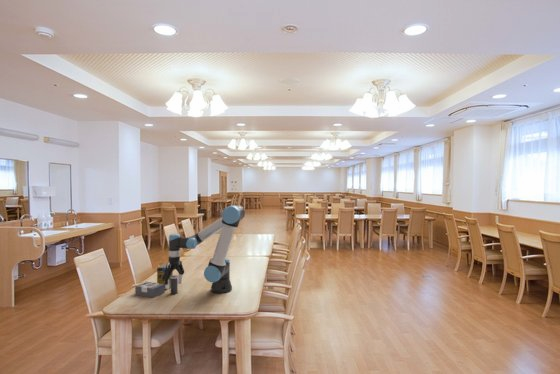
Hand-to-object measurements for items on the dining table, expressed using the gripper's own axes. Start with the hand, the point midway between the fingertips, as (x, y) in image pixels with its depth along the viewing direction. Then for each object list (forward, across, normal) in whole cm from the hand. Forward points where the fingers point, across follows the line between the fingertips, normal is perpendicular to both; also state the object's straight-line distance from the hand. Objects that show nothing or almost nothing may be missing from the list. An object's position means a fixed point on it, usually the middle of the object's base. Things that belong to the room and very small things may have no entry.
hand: (173, 286), depth 231 cm
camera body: (+5, +7, -15) cm, 17 cm away
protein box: (+5, -12, -18) cm, 22 cm away
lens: (+5, 0, 0) cm, 5 cm away
